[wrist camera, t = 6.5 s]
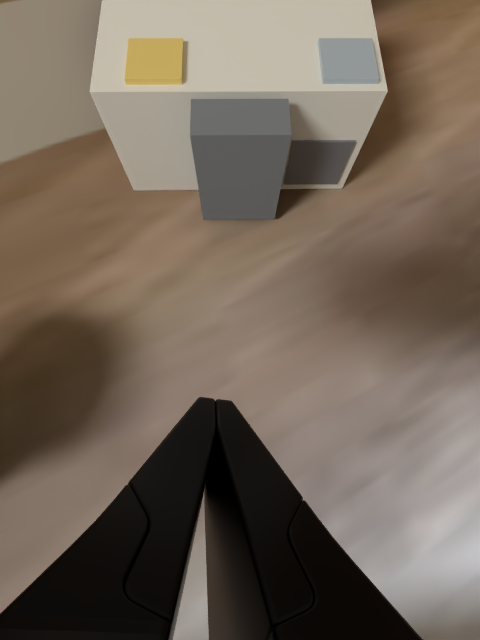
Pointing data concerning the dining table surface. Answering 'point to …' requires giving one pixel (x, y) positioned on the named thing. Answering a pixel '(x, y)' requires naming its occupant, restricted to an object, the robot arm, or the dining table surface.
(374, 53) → the port box
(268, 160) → the plug
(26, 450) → the dining table surface
